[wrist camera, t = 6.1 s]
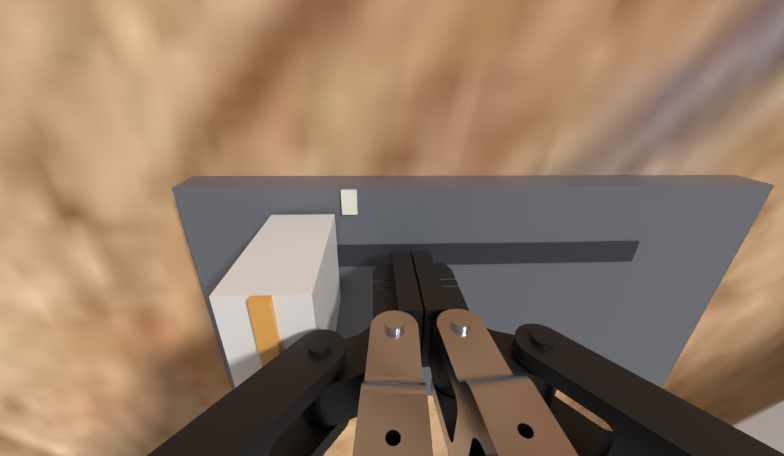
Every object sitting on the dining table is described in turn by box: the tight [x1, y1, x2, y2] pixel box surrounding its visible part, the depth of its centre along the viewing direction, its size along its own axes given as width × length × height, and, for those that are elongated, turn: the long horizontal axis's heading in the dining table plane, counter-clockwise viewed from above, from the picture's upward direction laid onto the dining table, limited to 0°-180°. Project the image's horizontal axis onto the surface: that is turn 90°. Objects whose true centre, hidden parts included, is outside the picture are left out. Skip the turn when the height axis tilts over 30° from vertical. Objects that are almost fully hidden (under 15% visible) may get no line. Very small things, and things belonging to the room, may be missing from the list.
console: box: [172, 175, 774, 395], centre depth 15 cm, size 24×12×2 cm, turn 89°
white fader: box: [209, 214, 341, 388], centre depth 10 cm, size 2×4×5 cm, turn 179°
